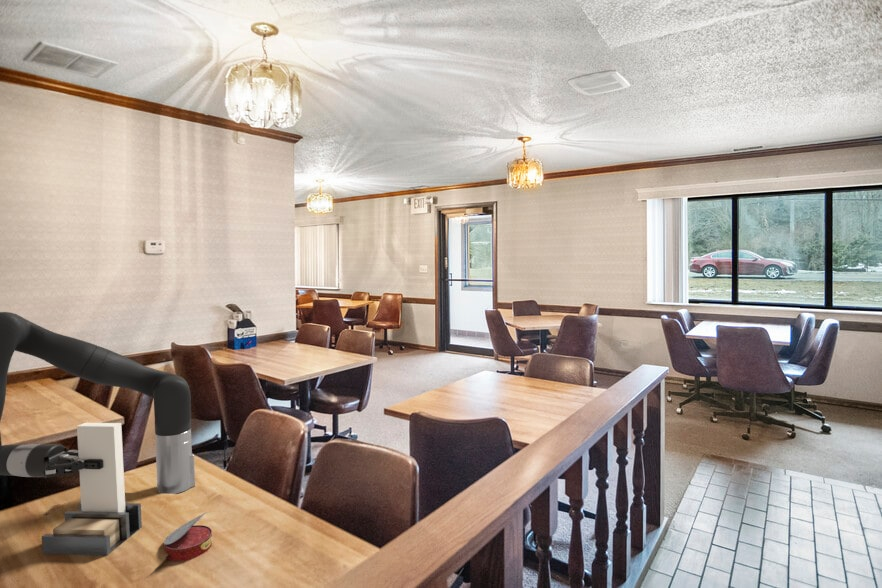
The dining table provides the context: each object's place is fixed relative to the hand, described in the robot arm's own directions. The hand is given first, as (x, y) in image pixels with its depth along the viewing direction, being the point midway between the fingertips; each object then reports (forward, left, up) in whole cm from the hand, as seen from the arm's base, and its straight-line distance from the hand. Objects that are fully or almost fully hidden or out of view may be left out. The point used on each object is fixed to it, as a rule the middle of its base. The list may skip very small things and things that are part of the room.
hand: (106, 461), depth 116 cm
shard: (+6, -22, -20) cm, 30 cm away
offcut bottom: (+5, +3, -18) cm, 18 cm away
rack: (+3, +1, -19) cm, 19 cm away
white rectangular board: (+1, -1, -13) cm, 13 cm away
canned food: (-13, +17, -19) cm, 29 cm away
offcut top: (+5, +3, -15) cm, 16 cm away
